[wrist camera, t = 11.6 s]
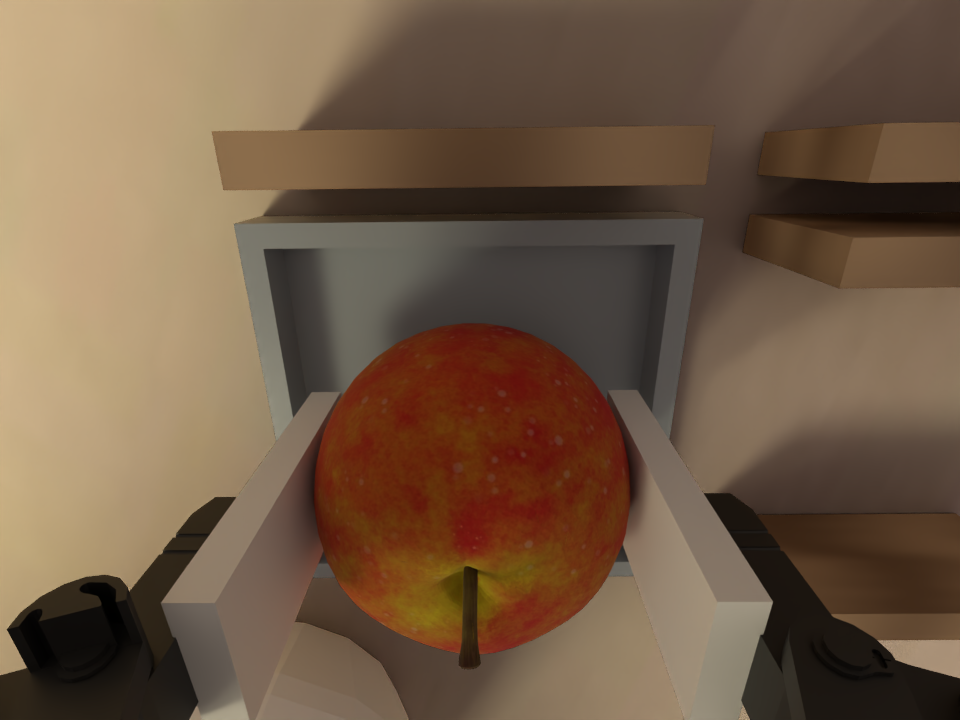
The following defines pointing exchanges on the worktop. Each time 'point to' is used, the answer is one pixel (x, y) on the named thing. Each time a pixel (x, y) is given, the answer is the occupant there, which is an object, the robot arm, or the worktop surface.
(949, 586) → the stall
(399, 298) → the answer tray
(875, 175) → the stall
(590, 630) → the worktop surface
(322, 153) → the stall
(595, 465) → the fruit
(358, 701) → the cup
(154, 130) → the worktop surface
